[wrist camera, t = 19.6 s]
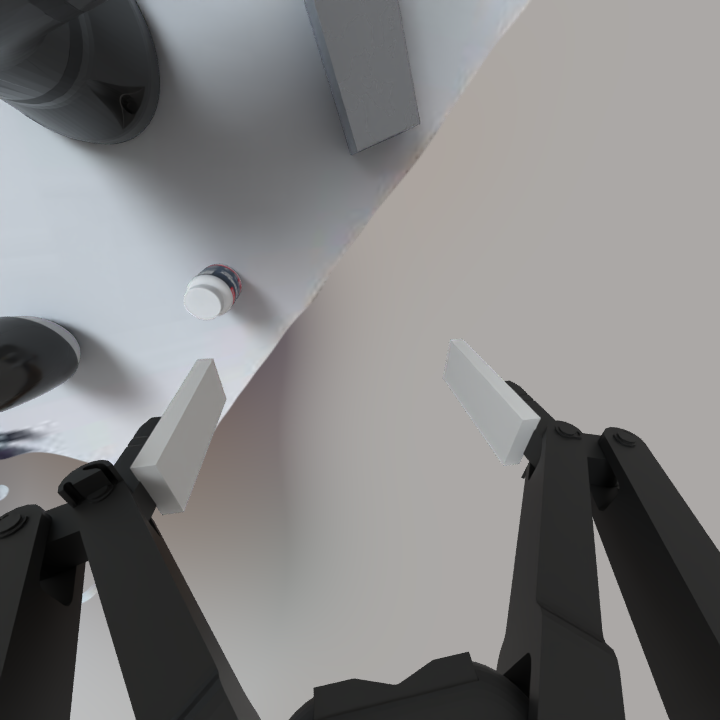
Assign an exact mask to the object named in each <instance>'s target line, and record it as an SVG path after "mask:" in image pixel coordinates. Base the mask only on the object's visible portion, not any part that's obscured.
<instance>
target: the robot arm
mask: <svg viewBox="0 0 720 720" xmlns="http://www.w3.org/2000/svg"><path fill="white" fill-rule="evenodd" d="M159 88H160V77H159V67H158V61H157V55H156V51H155V47H154V44H153V41H152V37H151V35H150V32H149V29H148V27H147V24H146V22H145V20H144V17H143V15H142V13H141V11H140V9H139V7H138V5H137V4H136V2H135V0H0V99H2V100H3V101H5V102H6V103H8V104H10V105H11V106H13V107H14V108H16V109H17V110H19V111H20V112H22V113H23V114H24V115H26V116H27V117H29V118H30V119H32V120H33V121H35V122H37V123H38V124H40V125H42V126H44V127H46V128H48V129H50V130H52V131H54V132H57V133H59V134H61V135H64V136H67V137H70V138H73V139H77V140H82V141H87V142H92V143H99V144H115V143H121V142H124V141H127V140H130V139H132V138H134V137H135V136H137V135H138V134H140V133H141V132H142V131H143V130H144V129H145V128H146V127H147V125H148V124H149V122H150V121H151V119H152V117H153V115H154V113H155V110H156V107H157V103H158V98H159ZM443 379H444V380H445V382H446V383H447V385H448V386H449V387H450V389H451V391H452V392H453V393H454V395H455V396H456V398H457V399H458V401H459V402H460V403H461V405H462V407H463V408H464V409H465V411H466V412H467V414H468V415H469V417H470V418H471V420H472V421H473V422H474V424H475V425H476V427H477V428H478V430H479V431H480V433H481V434H482V435H483V437H484V439H485V440H486V441H487V443H488V444H489V446H490V447H491V449H492V450H493V452H494V453H495V455H496V456H497V457H498V459H499V460H500V462H501V463H502V465H503V466H507V465H514V464H519V463H520V461H521V459H522V457H523V455H525V456H526V458H527V459H528V460H529V463H528V466H527V467H526V469H525V471H524V473H523V475H522V478H525V485H524V493H523V501H522V509H521V516H520V524H519V532H518V540H517V548H516V556H515V564H514V572H513V580H512V588H511V596H510V604H509V611H508V619H507V627H506V634H505V638H504V642H503V645H502V648H501V650H500V655H499V659H498V664H497V670H493V669H492V668H490V667H487V666H486V665H483V664H480V663H477V662H472V660H471V657H470V654H469V652H465V653H461V654H457V655H452V656H448V657H444V658H440V659H435V660H432V661H431V662H430V663H428V664H427V665H425V666H424V667H422V668H421V669H419V670H418V671H417V672H415V673H414V674H412V675H411V676H410V677H408V678H407V679H405V680H404V681H402V682H401V683H399V684H397V685H391V684H385V683H379V682H372V681H366V680H360V679H350V680H345V681H341V682H337V683H333V684H328V685H324V686H319V687H315V688H314V697H313V698H312V699H310V700H309V701H307V702H306V703H305V704H304V705H303V706H302V707H300V708H299V709H298V710H297V711H296V712H295V713H294V714H293V715H292V717H291V718H290V719H289V720H625V713H624V704H623V696H622V686H621V678H620V670H619V665H618V660H617V657H616V655H615V653H614V651H613V649H612V648H611V647H609V646H608V645H607V644H606V643H605V640H604V638H603V632H602V623H601V611H600V599H599V588H598V577H597V565H596V554H595V543H594V531H593V520H592V517H593V519H594V522H595V524H596V527H597V530H598V532H599V535H600V538H601V540H602V543H603V546H604V548H605V551H606V554H607V556H608V558H609V561H610V564H611V567H612V569H613V572H614V575H615V577H616V580H617V583H618V585H619V588H620V590H621V593H622V596H623V598H624V601H625V604H626V606H627V609H628V612H629V614H630V617H631V620H632V622H633V625H634V627H635V630H636V633H637V635H638V638H639V641H640V643H641V646H642V649H643V651H644V654H645V656H646V659H647V662H648V664H649V667H650V669H651V672H652V675H653V678H654V680H655V683H656V685H657V688H658V691H659V693H660V696H661V699H662V701H663V704H664V707H665V709H666V712H667V714H668V717H669V719H670V720H720V552H719V551H718V549H717V548H716V546H715V545H714V543H713V542H712V540H711V539H710V538H709V536H708V535H707V533H706V532H705V530H704V529H703V527H702V526H701V524H700V523H699V521H698V520H697V518H696V517H695V516H694V514H693V513H692V511H691V510H690V508H689V507H688V505H687V504H686V502H685V501H684V499H683V498H682V497H681V495H680V494H679V493H678V491H677V489H676V488H675V486H674V485H673V483H672V482H671V481H670V479H669V478H668V476H667V475H666V473H665V472H664V470H663V469H662V467H661V466H660V464H659V463H658V462H657V460H656V459H655V457H654V456H653V454H652V453H651V451H650V450H649V449H648V447H647V446H646V444H645V443H644V442H643V441H642V440H641V439H640V438H639V437H637V436H636V435H635V434H633V433H631V432H629V431H626V430H624V429H620V428H615V427H609V428H606V429H605V431H604V432H603V434H602V435H601V436H599V435H592V434H585V433H582V432H581V431H580V430H579V429H578V428H576V427H575V426H573V425H571V424H569V423H566V422H563V421H555V420H554V419H553V418H552V417H551V416H550V415H549V414H548V413H547V412H546V411H545V410H544V409H543V408H542V407H541V406H540V405H539V404H538V403H537V402H536V401H533V399H532V398H531V397H530V396H529V395H527V393H526V392H525V391H524V390H523V389H522V388H521V387H520V386H518V385H517V384H515V383H513V382H511V381H504V380H503V379H502V378H501V377H500V376H499V375H498V374H497V373H496V372H495V371H494V370H493V369H492V368H491V367H490V366H489V365H488V364H487V363H486V362H485V361H484V360H483V359H482V358H481V357H480V356H479V355H478V354H477V353H476V352H475V351H474V350H473V349H472V348H471V347H470V346H469V345H468V344H467V343H466V342H465V341H464V340H463V339H454V340H450V344H449V349H448V354H447V360H446V364H445V369H444V375H443ZM225 401H226V396H225V393H224V390H223V387H222V384H221V381H220V378H219V375H218V372H217V369H216V366H215V363H214V360H213V358H211V359H198V360H197V361H196V363H195V364H194V366H193V367H192V369H191V371H190V372H189V374H188V376H187V377H186V379H185V380H184V382H183V384H182V385H181V387H180V388H179V390H178V392H177V393H176V395H175V396H174V398H173V400H172V401H171V403H170V404H169V406H168V408H167V409H166V411H165V412H164V414H163V416H162V417H154V418H151V419H149V420H148V421H147V422H146V423H145V424H143V425H142V426H141V427H140V428H139V430H138V431H137V433H136V434H135V435H134V438H133V439H132V440H131V441H130V443H129V444H128V447H126V449H125V450H124V452H123V453H122V454H121V456H120V457H119V459H118V460H117V462H116V463H115V465H114V466H113V464H112V463H110V462H109V461H106V460H98V461H93V462H90V463H88V464H85V465H83V466H81V467H79V468H77V469H76V470H74V471H72V472H71V473H70V474H69V475H68V476H67V477H65V478H64V479H63V481H62V482H61V484H60V485H59V487H58V493H59V495H60V496H61V497H62V498H63V499H64V500H65V501H66V502H67V504H64V505H61V506H59V507H56V508H53V509H50V510H48V511H44V510H43V509H42V508H41V507H40V506H38V505H36V504H35V505H25V506H22V507H18V508H16V509H14V510H12V511H10V512H8V513H6V514H4V515H3V516H1V517H0V720H70V712H71V702H72V692H73V682H74V672H75V662H76V652H77V642H78V632H79V623H80V613H81V603H82V593H83V583H84V572H85V563H86V561H89V563H90V567H91V570H92V573H93V577H94V580H95V584H96V587H97V590H98V594H99V597H100V600H101V604H102V607H103V611H104V614H105V617H106V620H107V624H108V627H109V630H110V634H111V637H112V641H113V644H114V647H115V651H116V654H117V657H118V660H119V664H120V667H121V671H122V674H123V678H124V681H125V684H126V688H127V691H128V694H129V698H130V701H131V704H132V708H133V711H134V714H135V717H136V720H261V719H260V717H259V716H258V714H257V712H256V711H255V709H254V707H253V706H252V704H251V703H250V701H249V700H248V698H247V696H246V695H245V693H244V691H243V689H242V687H241V685H240V683H239V682H238V680H237V678H236V676H235V674H234V672H233V670H232V668H231V667H230V664H229V663H228V661H227V659H226V657H225V655H224V653H223V651H222V649H221V647H220V645H219V644H218V642H217V640H216V638H215V636H214V634H213V632H212V631H211V628H210V626H209V625H208V623H207V621H206V619H205V617H204V615H203V613H202V612H201V609H200V607H199V606H198V604H197V602H196V600H195V598H194V596H193V594H192V592H191V591H190V588H189V587H188V585H187V583H186V581H185V579H184V577H183V575H182V573H181V572H180V569H179V568H178V566H177V564H176V562H175V560H174V558H173V556H172V554H171V552H170V550H169V549H168V547H167V545H166V543H165V541H164V539H163V538H162V535H161V533H160V532H159V530H158V528H157V526H156V524H155V522H154V520H153V519H152V518H151V516H152V514H153V512H154V510H155V508H156V507H157V508H158V510H159V511H160V513H161V514H162V515H166V514H173V513H180V512H184V511H185V508H186V505H187V503H188V500H189V497H190V495H191V492H192V489H193V486H194V484H195V481H196V479H197V476H198V473H199V470H200V468H201V465H202V463H203V460H204V457H205V454H206V452H207V449H208V447H209V444H210V441H211V439H212V436H213V433H214V431H215V428H216V425H217V423H218V420H219V417H220V415H221V412H222V409H223V407H224V404H225ZM525 476H526V477H525Z"/></svg>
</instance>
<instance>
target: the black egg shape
mask: <svg viewBox="0 0 720 720" xmlns="http://www.w3.org/2000/svg"><path fill="white" fill-rule="evenodd" d="M80 356H81V352H80V347H79V344H78V342H77V340H76V339H75V338H74V336H73V335H72V334H71V333H70V332H69V331H67V330H66V329H65V328H63V327H62V326H60V325H58V324H56V323H54V322H52V321H49V320H46V319H42V318H38V317H30V316H15V317H0V412H3V411H6V410H8V409H11V408H13V407H16V406H18V405H21V404H23V403H25V402H28V401H30V400H32V399H35V398H37V397H39V396H41V395H43V394H45V393H47V392H49V391H50V390H52V389H54V388H56V387H57V386H59V385H61V384H62V383H64V382H65V381H67V380H68V379H69V378H71V377H72V376H73V375H74V374H75V372H76V370H77V368H78V364H79V361H80Z"/></svg>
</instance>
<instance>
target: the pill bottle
mask: <svg viewBox="0 0 720 720" xmlns="http://www.w3.org/2000/svg"><path fill="white" fill-rule="evenodd" d="M241 289H242V284H241V280H240V277H239V276H238V274H237V273H236V272H235V271H234V270H233V269H232V268H230V267H228V266H226V265H222V264H214V265H210V266H208V267H207V268H205V269H204V270H203V271H202V272H200V273H199V274H198V275H197V276H196V277H194V278H193V279H192V280H191V281H190V282H189V284H188V286H187V290H186V294H185V296H184V305H185V308H186V309H187V311H188V312H189V313H190V314H191V315H192V316H194V317H196V318H198V319H201V320H211V319H214V318H216V317H217V316H220V315H223V314H225V313H226V312H228V311H229V310H230V308H231V307H232V305H233V304H234V302H235V301H236V299H237V297H238V296H239V294H240V292H241Z"/></svg>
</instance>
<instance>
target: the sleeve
mask: <svg viewBox="0 0 720 720" xmlns="http://www.w3.org/2000/svg"><path fill="white" fill-rule="evenodd" d="M304 3H305V6H306V10H307V13H308V16H309V19H310V23H311V26H312V29H313V32H314V36H315V39H316V42H317V46H318V49H319V52H320V55H321V59H322V62H323V65H324V68H325V72H326V75H327V78H328V82H329V85H330V88H331V91H332V95H333V98H334V101H335V104H336V108H337V111H338V114H339V117H340V121H341V124H342V127H343V131H344V134H345V137H346V140H347V144H348V147H349V150H350V153H351V155H353V154H355V153H357V152H360V151H362V150H364V149H366V148H369V147H371V146H373V145H375V144H378V143H380V142H382V141H384V140H387V139H389V138H391V137H393V136H396V135H398V134H400V133H402V132H405V131H407V130H408V129H410V128H412V127H414V126H416V125H418V124H420V120H419V115H418V109H417V104H416V98H415V93H414V87H413V82H412V76H411V70H410V65H409V59H408V54H407V48H406V43H405V37H404V32H403V26H402V21H401V15H400V10H399V4H398V0H304Z"/></svg>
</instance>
